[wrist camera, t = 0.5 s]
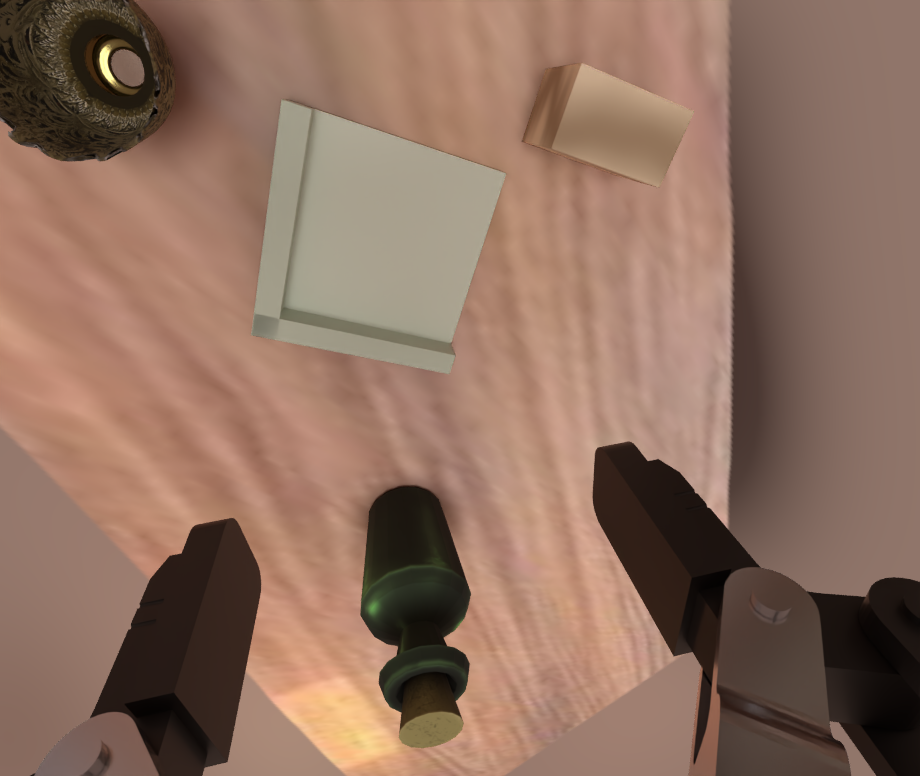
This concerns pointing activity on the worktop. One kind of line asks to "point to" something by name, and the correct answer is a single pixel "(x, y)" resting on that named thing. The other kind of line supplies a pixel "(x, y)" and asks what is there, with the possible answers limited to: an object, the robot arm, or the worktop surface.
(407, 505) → the potion bottle
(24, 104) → the cup
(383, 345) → the corner tray
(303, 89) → the worktop surface
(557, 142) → the maple brick
